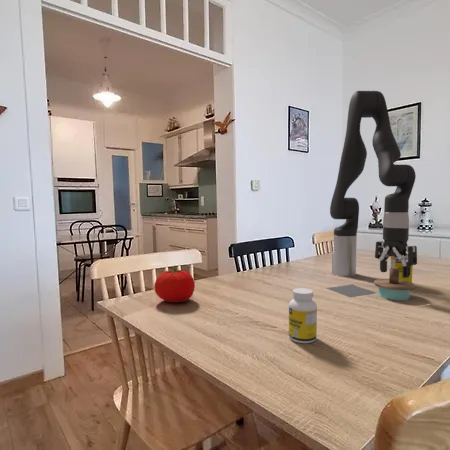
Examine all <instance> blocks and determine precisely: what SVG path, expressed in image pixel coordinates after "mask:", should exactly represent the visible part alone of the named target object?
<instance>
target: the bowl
mask: <svg viewBox="0 0 450 450" xmlns="http://www.w3.org/2000/svg"><path fill="white" fill-rule="evenodd" d="M377 294H378V296H379V297H381V298H384V299H386V300H392V301H406V300H409V299H410V298H411V297H410V296H411V290H391V289H385V288H381V287H378V292H377Z"/></svg>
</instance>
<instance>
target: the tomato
mask: <svg viewBox="0 0 450 450" xmlns="http://www.w3.org/2000/svg"><path fill="white" fill-rule="evenodd" d="M195 287H196V284H195V280H194V277H193V276H192V274H191V273H189V272H188V271H185V270H182V269H176V268H174V269H169V270H164V271H162V273H160V274H159V275H158V276H157V278H156V279H155V283H154V292H155V294H156V295H157V296H158V298H160V300H163V301H165V302H169V303H184V302H187V301H188V300H189V299H190V298H192V296H193V295H194V292H195Z"/></svg>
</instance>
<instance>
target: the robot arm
mask: <svg viewBox="0 0 450 450" xmlns="http://www.w3.org/2000/svg"><path fill="white" fill-rule="evenodd" d="M347 112H348V113H347V121H346V131H345V137H344V142H343V146H342V152H341V156H340V161H339V168H338V173H337V174H338V175H337V179H336V182H335V186H334V191H333V194H332V198H331V202H330V205H329V206H330V207H329V215H330V217H331V218H332V219H334V220H345V222H344V223H343V224H342V225H340V226H336V227H335V228H334V229H333V251H332V252H331V274H333V275H334V276H338V277H345V278H346V277H347V278H348V277H349V278H350V277H355V276H356V275H357V245H358V244H357V237H358V236H357V233H358V229H359V216H360V206H359V205H360V204H359V201H358V199H357V198H355V197H346V194H347V192H348V190H349V189H350V187H351V186H352V185H353V183H355V182H356V180H357V179H359V177H360V176H361V174H362V173H363V172H364V168H365V167H366V166H365V165H366V161H367V155H368V153H367V147H366V145H365V143H364V140H363V137H362V134H361V122H362V118H369V119H370V118H372V119H373V120H374V122H375V129H374V130H375V131H374V133H373V137H372V147H373V150H374V153H375V156H376V158H377V163H378V165H377V166H378V178H379V181H380V182H381V184H382V185H384V186H385V187H396V188H395V191H394V193H390V194H387V195H386V196H385V197H384V209H383V210H384V213H383V218H382V220H383V221H382V240H381V241H380V240H379V241H376V242H375V249H374V250H375V251H374V258H375V259H377V260H378V261H379V269H380V272H381V273H387V272H388V260H389V258H391V256H394V257H398V259H399V260H400V261H401V262H402V264H403V265H404V266H403V270H402V277H403V278H408V277H409V276H410V268H411V266H412V265H413V266H416V265H418V249H417V246H416V245H408V241H409V238H410V237H409V236H410V233H409V232H410V217H409V208H410V205H409V203H410V198H411V195H412V191H413V189H414V186H415V182H416V175H417V174H416V171H415V168H414V167H413V166H411V165H410V164H395V163H396V162H397V161H399V160H400V158H401V156H402V155H401V150H400V147H399V145H398V143H397V141H396V138H395V136H394V133H393V129H392V126H391V121H390V116H389V110H388V106H387V102H386V98H385V96H384V94H383V93H382V92H381V91H379V90H356V91H355V92H353V94H352V95H351V98H350V101H349V105H348V111H347Z"/></svg>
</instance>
